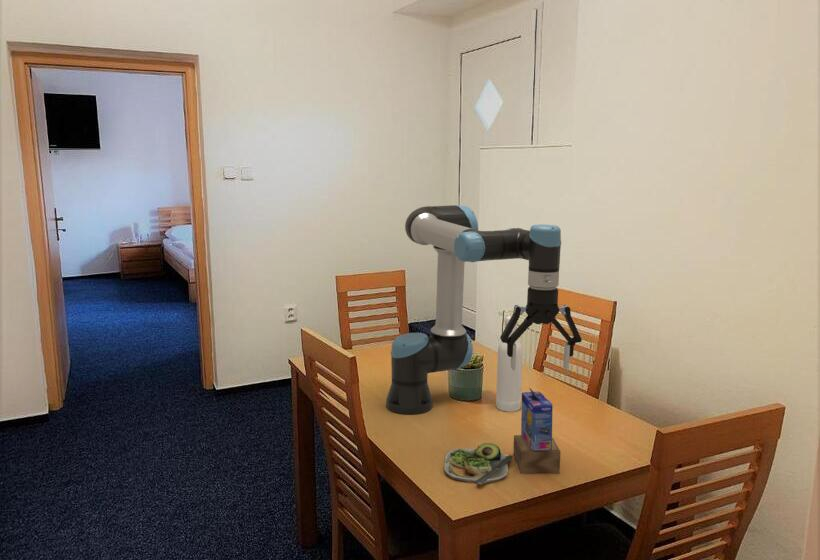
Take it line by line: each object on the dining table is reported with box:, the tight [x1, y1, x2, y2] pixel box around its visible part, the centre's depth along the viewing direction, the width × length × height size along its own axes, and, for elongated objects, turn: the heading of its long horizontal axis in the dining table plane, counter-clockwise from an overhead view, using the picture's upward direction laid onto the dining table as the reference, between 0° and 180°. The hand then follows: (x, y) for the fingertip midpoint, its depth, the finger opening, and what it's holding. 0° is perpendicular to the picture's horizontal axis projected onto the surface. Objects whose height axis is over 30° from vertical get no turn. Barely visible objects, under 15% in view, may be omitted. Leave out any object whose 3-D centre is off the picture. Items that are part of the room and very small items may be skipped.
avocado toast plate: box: [443, 442, 514, 486], centre depth 165 cm, size 19×18×5 cm
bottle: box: [495, 315, 524, 413], centre depth 206 cm, size 8×8×30 cm
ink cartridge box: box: [520, 387, 554, 450], centre depth 166 cm, size 10×6×14 cm, turn 9°
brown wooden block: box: [512, 434, 561, 475], centre depth 168 cm, size 10×10×6 cm
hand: (539, 368), depth 164 cm, fingers open, 13 cm apart
